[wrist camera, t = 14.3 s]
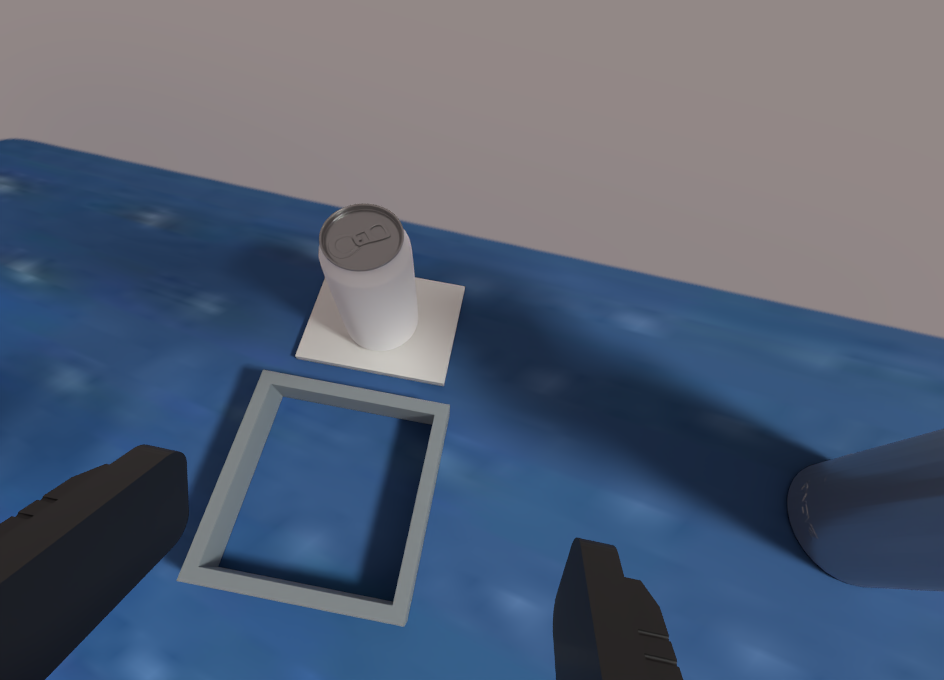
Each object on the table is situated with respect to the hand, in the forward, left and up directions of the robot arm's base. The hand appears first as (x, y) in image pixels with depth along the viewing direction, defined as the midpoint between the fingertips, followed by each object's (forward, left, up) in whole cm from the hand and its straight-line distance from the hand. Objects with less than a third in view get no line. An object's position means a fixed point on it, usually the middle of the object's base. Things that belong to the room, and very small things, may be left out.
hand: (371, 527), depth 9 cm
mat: (+8, -18, -28) cm, 34 cm away
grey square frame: (+8, -3, -28) cm, 29 cm away
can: (+8, -18, -27) cm, 34 cm away
